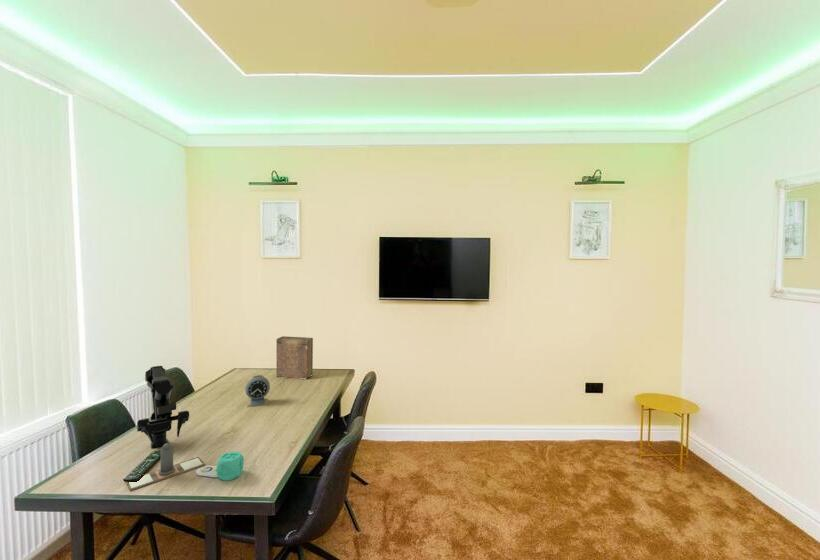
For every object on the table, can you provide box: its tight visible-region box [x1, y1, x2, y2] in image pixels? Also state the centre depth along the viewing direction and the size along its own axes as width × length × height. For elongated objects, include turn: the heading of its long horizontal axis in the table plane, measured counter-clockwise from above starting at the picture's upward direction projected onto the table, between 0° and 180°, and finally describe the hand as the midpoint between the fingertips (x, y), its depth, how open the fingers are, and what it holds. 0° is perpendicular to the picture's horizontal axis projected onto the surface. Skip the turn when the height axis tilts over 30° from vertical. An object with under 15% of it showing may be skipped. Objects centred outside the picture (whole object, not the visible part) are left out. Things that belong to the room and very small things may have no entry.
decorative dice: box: [215, 451, 245, 482], centre depth 154 cm, size 8×8×8 cm
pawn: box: [158, 442, 175, 476], centre depth 154 cm, size 6×6×12 cm
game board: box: [125, 456, 206, 492], centre depth 154 cm, size 9×26×1 cm, turn 136°
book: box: [276, 335, 314, 380], centre depth 287 cm, size 25×9×30 cm, turn 81°
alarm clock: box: [244, 374, 271, 408], centre depth 232 cm, size 14×10×18 cm
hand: (165, 439), depth 158 cm, fingers open, 9 cm apart
